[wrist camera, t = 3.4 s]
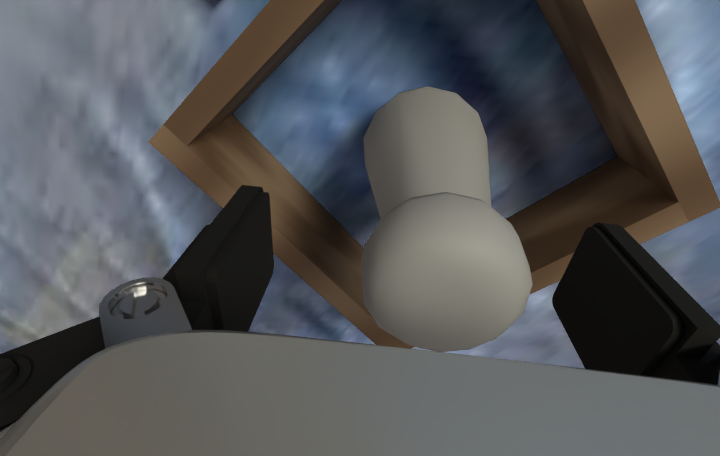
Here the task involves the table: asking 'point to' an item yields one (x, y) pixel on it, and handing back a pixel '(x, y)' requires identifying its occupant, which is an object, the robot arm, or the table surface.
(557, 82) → the table surface
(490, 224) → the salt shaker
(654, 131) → the frame
